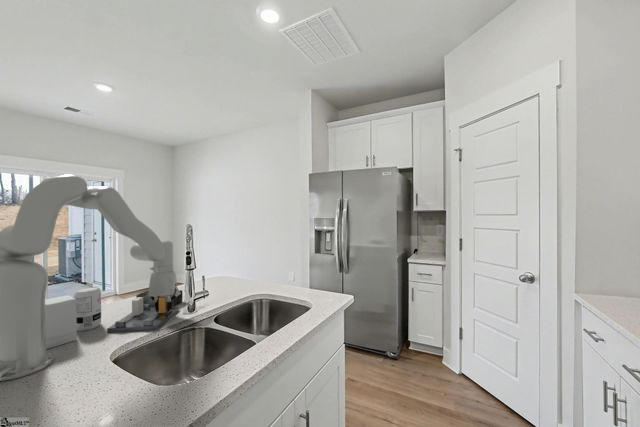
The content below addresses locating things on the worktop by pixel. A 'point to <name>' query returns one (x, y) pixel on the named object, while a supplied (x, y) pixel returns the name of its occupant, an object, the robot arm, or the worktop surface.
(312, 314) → the worktop surface
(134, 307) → the cream fader
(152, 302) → the beverage carton
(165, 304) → the orange fader
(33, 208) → the robot arm
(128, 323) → the console
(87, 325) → the supplement can
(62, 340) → the supplement box
